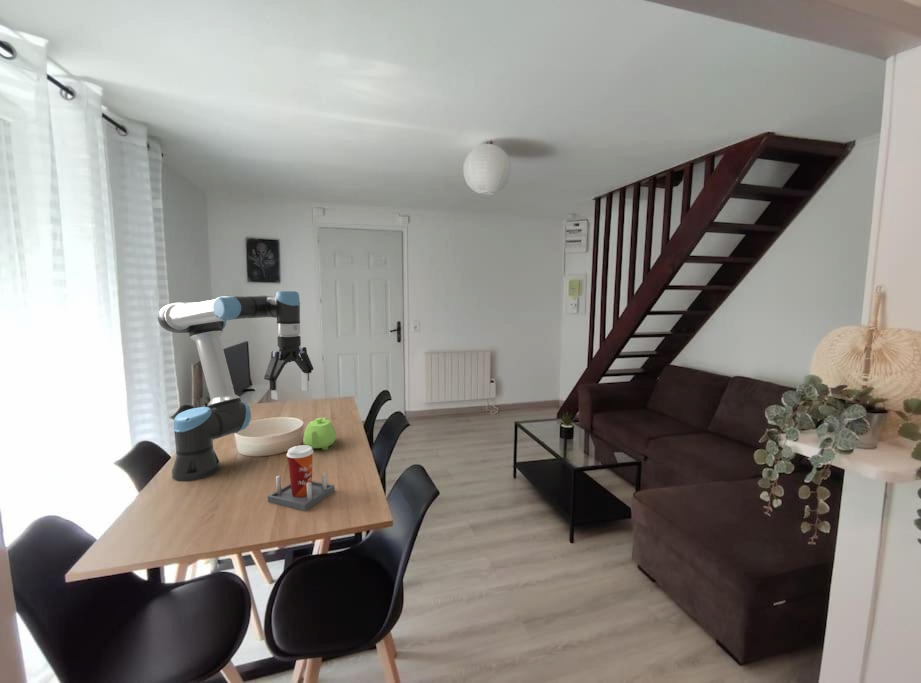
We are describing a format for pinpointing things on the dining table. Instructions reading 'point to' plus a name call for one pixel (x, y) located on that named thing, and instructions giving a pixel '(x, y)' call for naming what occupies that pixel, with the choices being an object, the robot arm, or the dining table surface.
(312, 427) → the teapot
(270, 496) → the tray
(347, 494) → the dining table surface
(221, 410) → the robot arm
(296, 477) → the coffee cup
